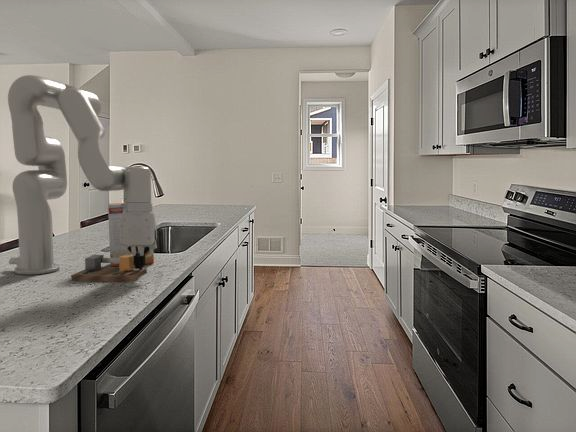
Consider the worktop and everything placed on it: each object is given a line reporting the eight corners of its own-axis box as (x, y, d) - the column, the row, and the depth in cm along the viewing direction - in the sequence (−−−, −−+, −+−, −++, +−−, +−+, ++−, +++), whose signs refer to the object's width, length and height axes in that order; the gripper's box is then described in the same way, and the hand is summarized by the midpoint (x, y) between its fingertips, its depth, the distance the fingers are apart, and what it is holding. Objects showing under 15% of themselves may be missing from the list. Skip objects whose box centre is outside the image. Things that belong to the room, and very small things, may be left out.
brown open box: (71, 280, 140) (71, 274, 140) (91, 271, 152) (90, 266, 152) (131, 281, 139) (131, 276, 139) (146, 272, 151) (146, 267, 151)
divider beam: (76, 273, 142) (75, 260, 142) (91, 267, 151) (91, 254, 151) (132, 275, 141) (132, 261, 140) (144, 268, 150) (144, 255, 150)
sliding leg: (114, 273, 141) (114, 259, 141) (127, 266, 151) (127, 253, 150) (124, 273, 141) (124, 259, 141) (136, 266, 150) (136, 253, 150)
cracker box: (151, 260, 170) (150, 201, 168) (154, 264, 164) (153, 203, 162) (109, 263, 165) (107, 202, 162) (110, 267, 159) (108, 204, 157)
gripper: (108, 208, 141) (110, 270, 143) (158, 209, 140) (159, 271, 142) (119, 206, 149) (120, 265, 150) (166, 207, 148) (167, 266, 149)
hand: (139, 267), depth 146 cm, fingers closed
